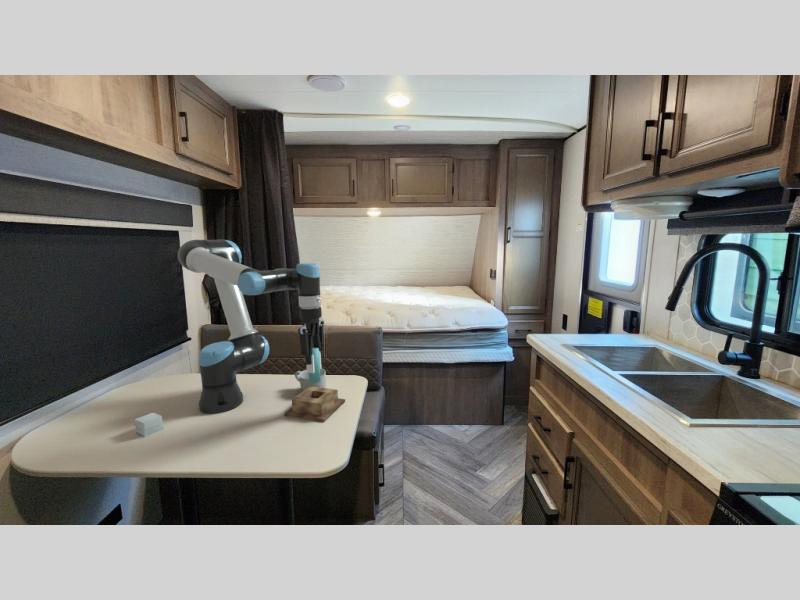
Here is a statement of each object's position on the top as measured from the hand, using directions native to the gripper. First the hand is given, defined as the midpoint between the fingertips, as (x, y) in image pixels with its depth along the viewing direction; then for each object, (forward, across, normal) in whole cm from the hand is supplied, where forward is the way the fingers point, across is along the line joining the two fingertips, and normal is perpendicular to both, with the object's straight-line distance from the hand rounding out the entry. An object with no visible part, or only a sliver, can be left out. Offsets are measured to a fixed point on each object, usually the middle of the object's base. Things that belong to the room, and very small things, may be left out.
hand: (314, 369), depth 124 cm
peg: (+4, 0, 0) cm, 4 cm away
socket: (+15, 0, 0) cm, 15 cm away
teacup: (+15, +14, +11) cm, 24 cm away
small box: (+15, -29, +45) cm, 56 cm away
